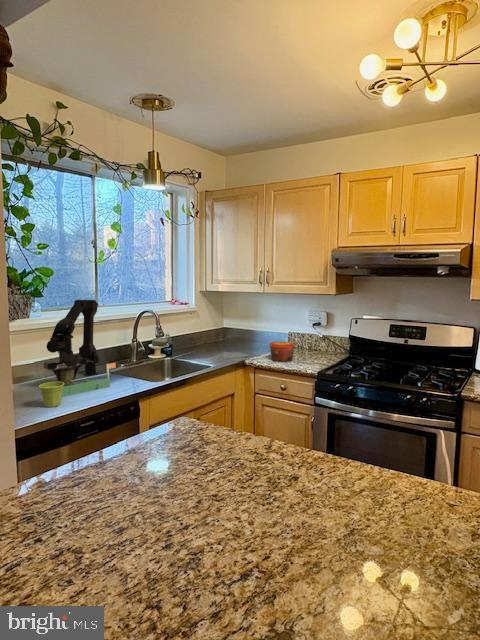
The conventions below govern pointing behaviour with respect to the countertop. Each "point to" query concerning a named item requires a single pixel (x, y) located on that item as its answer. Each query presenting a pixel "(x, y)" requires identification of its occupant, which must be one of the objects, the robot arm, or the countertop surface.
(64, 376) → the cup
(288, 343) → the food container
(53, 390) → the plant pot
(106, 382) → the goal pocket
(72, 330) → the robot arm
